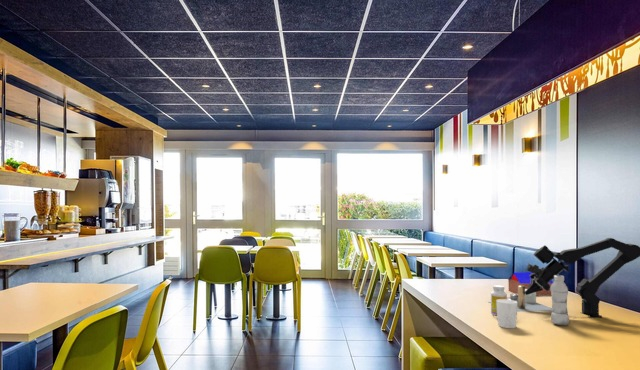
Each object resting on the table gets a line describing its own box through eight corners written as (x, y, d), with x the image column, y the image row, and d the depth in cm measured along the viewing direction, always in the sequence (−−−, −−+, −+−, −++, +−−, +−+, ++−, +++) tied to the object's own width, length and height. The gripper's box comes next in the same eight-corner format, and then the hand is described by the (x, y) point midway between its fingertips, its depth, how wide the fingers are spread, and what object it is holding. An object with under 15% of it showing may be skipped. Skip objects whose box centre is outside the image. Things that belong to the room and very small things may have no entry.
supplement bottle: (508, 317, 187) (508, 287, 188) (492, 316, 188) (492, 287, 189) (505, 313, 193) (504, 285, 194) (489, 313, 195) (489, 284, 195)
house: (507, 291, 247) (507, 271, 248) (539, 290, 250) (539, 270, 250) (520, 295, 235) (520, 274, 236) (553, 294, 238) (553, 273, 239)
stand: (558, 312, 196) (558, 297, 196) (509, 313, 193) (509, 298, 194) (532, 303, 216) (532, 289, 216) (487, 303, 213) (487, 289, 214)
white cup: (500, 322, 179) (499, 298, 179) (520, 325, 174) (519, 300, 174) (494, 326, 173) (493, 301, 173) (514, 330, 168) (514, 304, 168)
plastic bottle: (560, 327, 172) (559, 277, 173) (547, 323, 178) (546, 274, 179) (573, 326, 173) (572, 276, 174) (559, 322, 180) (558, 274, 181)
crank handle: (532, 308, 198) (532, 286, 199) (512, 308, 199) (512, 286, 200) (520, 301, 213) (520, 281, 214) (501, 300, 214) (501, 280, 215)
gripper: (533, 256, 208) (509, 278, 211) (541, 260, 190) (514, 284, 193) (551, 273, 205) (527, 295, 208) (561, 279, 188) (534, 302, 190)
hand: (525, 293), depth 200 cm, fingers closed, pressing on crank handle
